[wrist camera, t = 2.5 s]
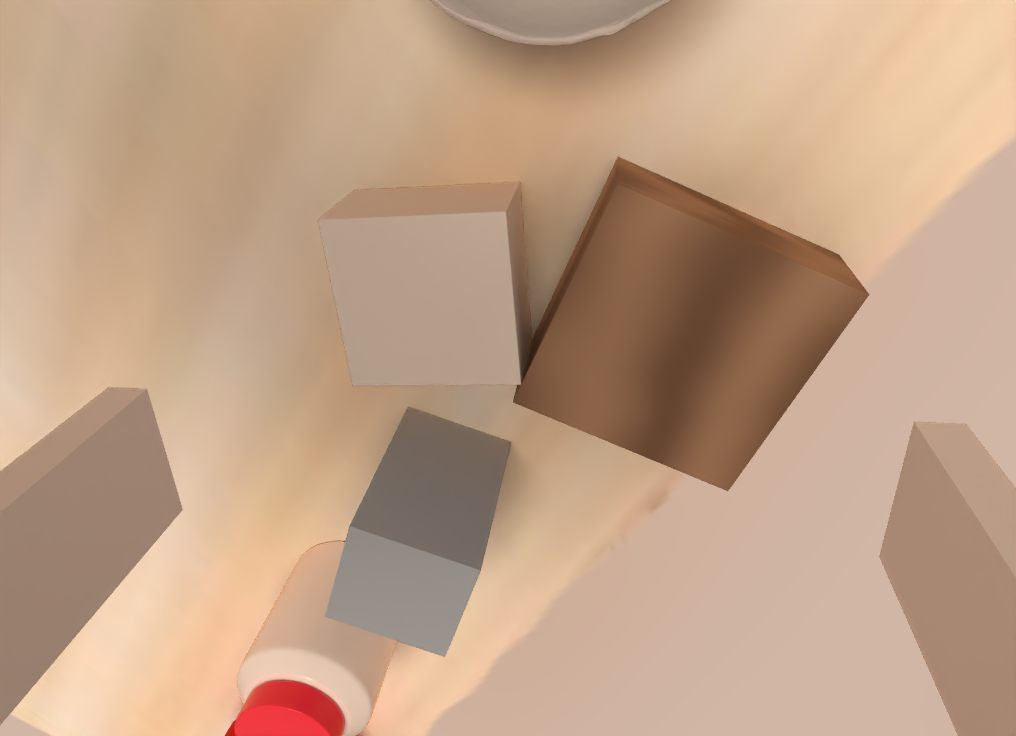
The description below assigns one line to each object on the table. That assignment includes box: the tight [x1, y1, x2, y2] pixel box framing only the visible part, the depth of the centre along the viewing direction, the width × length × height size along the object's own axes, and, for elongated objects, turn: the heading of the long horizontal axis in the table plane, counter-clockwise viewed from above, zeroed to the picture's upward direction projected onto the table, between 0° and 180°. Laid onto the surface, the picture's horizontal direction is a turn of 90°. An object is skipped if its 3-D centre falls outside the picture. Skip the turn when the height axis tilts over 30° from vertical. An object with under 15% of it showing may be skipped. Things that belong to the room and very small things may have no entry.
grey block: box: [318, 182, 532, 386], centre depth 34 cm, size 8×8×5 cm
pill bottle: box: [234, 541, 397, 736], centre depth 43 cm, size 8×8×11 cm
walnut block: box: [513, 157, 869, 491], centre depth 34 cm, size 11×11×5 cm
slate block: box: [325, 407, 511, 657], centre depth 38 cm, size 6×6×10 cm
